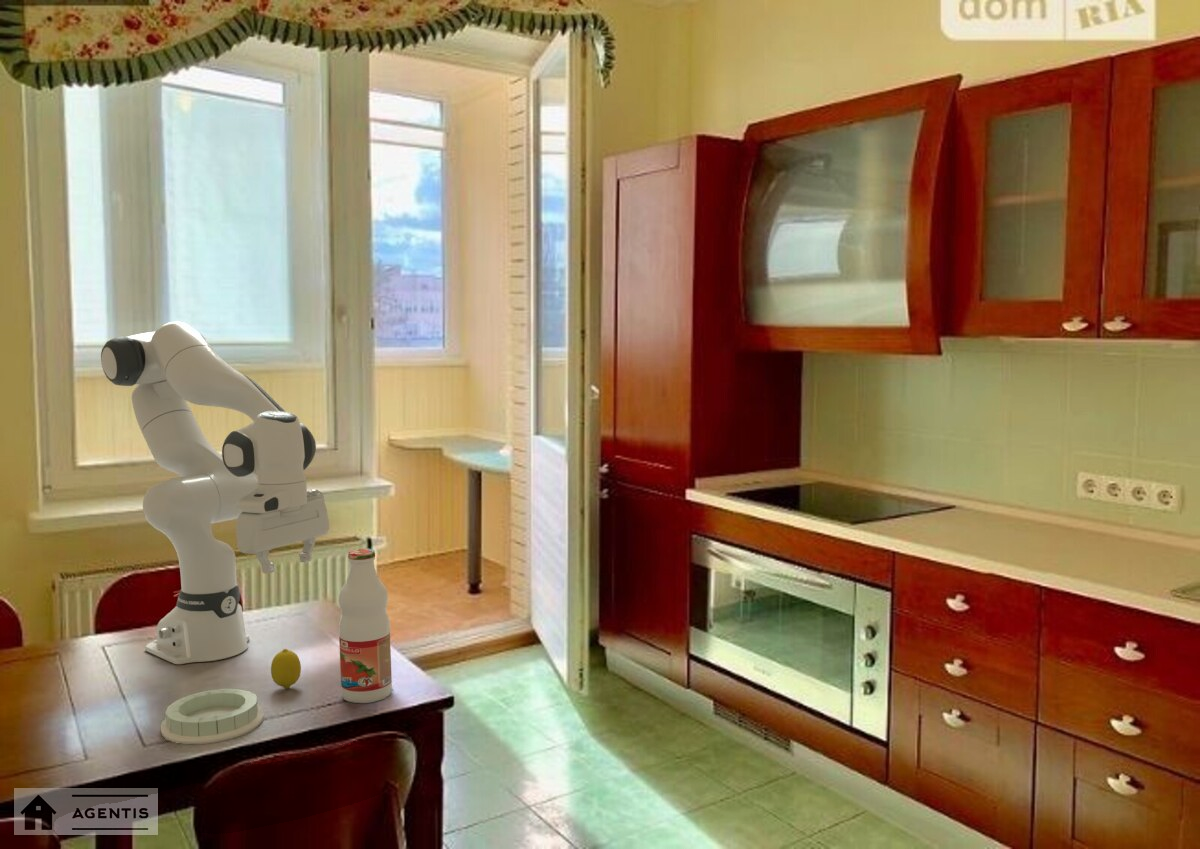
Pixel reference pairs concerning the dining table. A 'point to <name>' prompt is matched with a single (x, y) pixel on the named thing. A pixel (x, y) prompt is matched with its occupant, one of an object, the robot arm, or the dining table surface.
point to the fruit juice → (364, 632)
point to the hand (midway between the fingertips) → (287, 567)
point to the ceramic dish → (212, 716)
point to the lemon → (285, 668)
